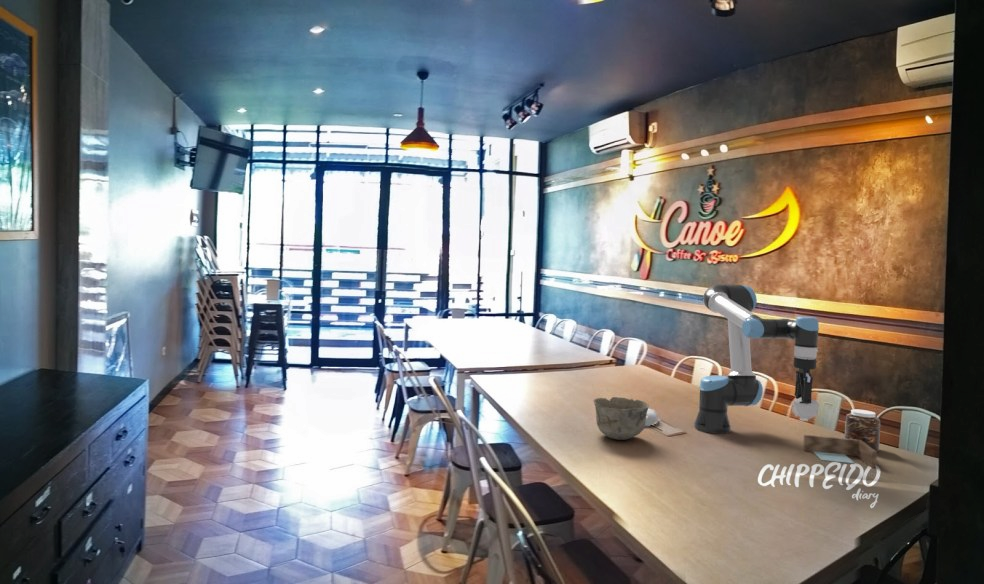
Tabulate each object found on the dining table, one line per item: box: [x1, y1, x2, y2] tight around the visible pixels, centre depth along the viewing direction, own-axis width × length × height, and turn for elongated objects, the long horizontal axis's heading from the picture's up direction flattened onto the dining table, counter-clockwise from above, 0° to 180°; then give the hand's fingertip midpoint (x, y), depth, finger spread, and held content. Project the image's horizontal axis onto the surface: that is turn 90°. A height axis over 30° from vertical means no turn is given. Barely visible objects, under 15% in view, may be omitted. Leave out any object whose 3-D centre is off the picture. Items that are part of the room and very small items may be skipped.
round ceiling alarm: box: [645, 407, 659, 427], centre depth 269 cm, size 25×25×6 cm
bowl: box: [593, 396, 649, 441], centre depth 240 cm, size 22×22×15 cm
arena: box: [803, 434, 878, 469], centre depth 222 cm, size 20×16×6 cm
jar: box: [844, 408, 881, 453], centre depth 237 cm, size 12×12×15 cm
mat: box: [813, 451, 855, 465], centre depth 223 cm, size 11×11×1 cm
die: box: [791, 397, 820, 421], centre depth 220 cm, size 8×9×10 cm
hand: (801, 418), depth 222 cm, fingers closed on die, 6 cm apart
